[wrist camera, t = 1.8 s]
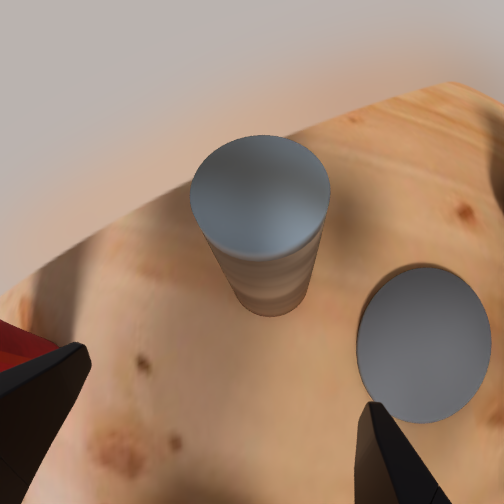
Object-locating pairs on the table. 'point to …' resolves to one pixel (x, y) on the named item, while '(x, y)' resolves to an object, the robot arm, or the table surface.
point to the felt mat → (423, 345)
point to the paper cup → (20, 346)
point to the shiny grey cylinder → (263, 218)
